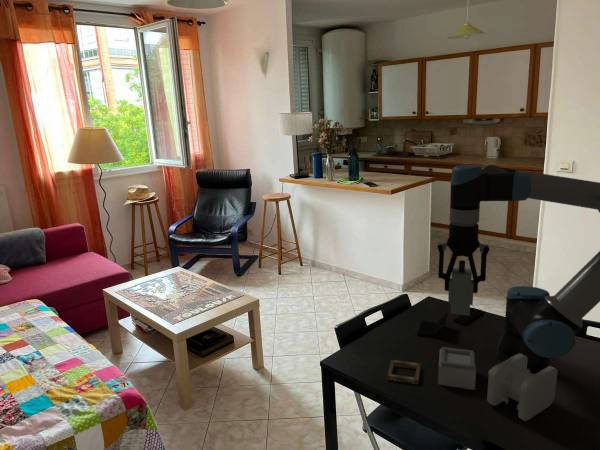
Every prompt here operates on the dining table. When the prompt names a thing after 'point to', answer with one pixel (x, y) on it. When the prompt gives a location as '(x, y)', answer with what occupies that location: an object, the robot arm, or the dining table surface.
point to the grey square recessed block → (457, 368)
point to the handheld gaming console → (431, 327)
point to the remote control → (468, 317)
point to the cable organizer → (522, 386)
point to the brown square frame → (404, 378)
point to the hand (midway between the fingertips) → (460, 301)
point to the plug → (461, 290)
